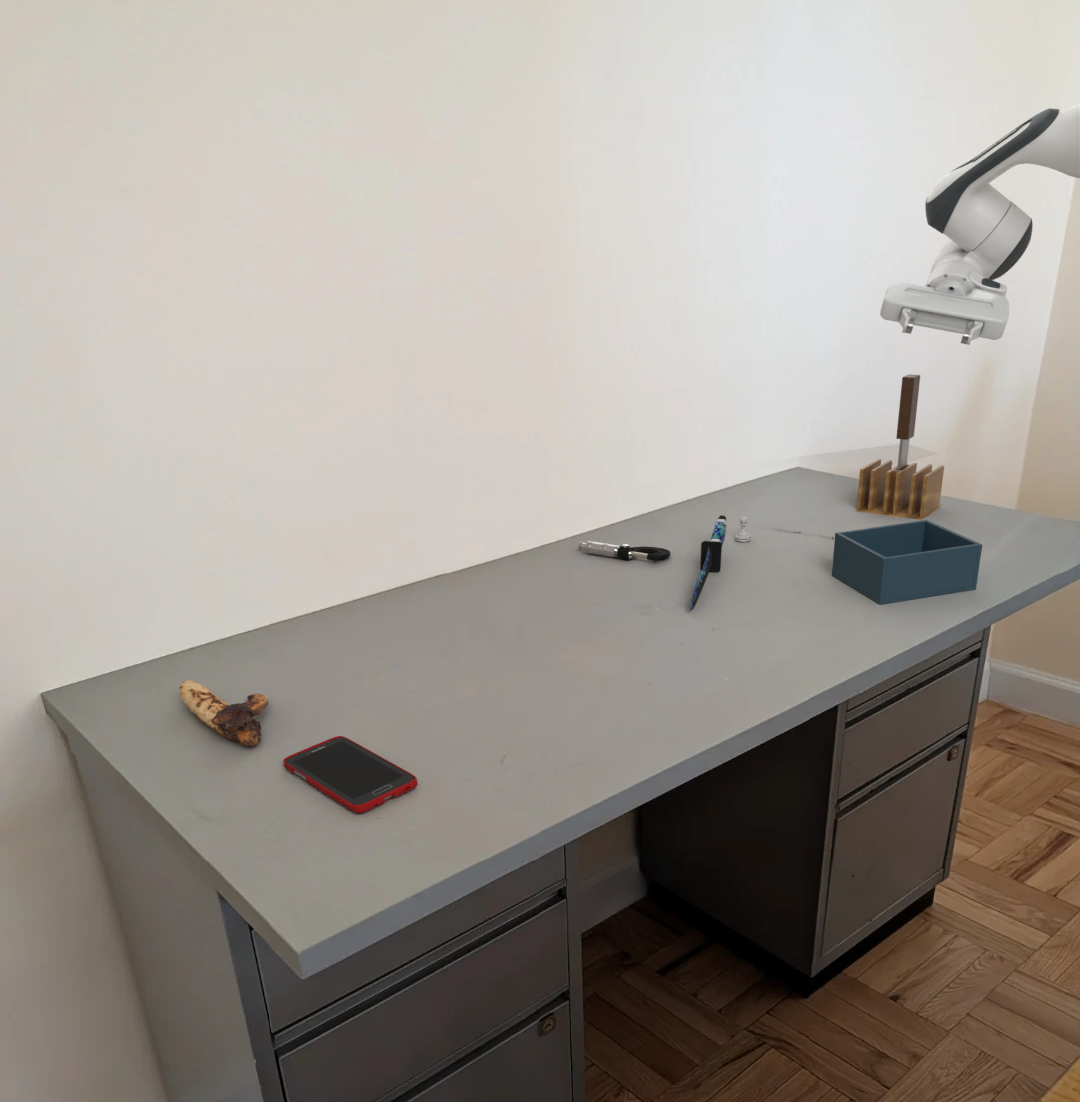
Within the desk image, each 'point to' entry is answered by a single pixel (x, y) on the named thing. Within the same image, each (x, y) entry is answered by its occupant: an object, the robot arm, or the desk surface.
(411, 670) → the desk surface
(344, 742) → the cell phone
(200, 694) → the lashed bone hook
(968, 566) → the open box
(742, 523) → the pawn
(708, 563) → the knife
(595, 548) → the micrometer
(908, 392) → the kitchen knife
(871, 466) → the dish rack
